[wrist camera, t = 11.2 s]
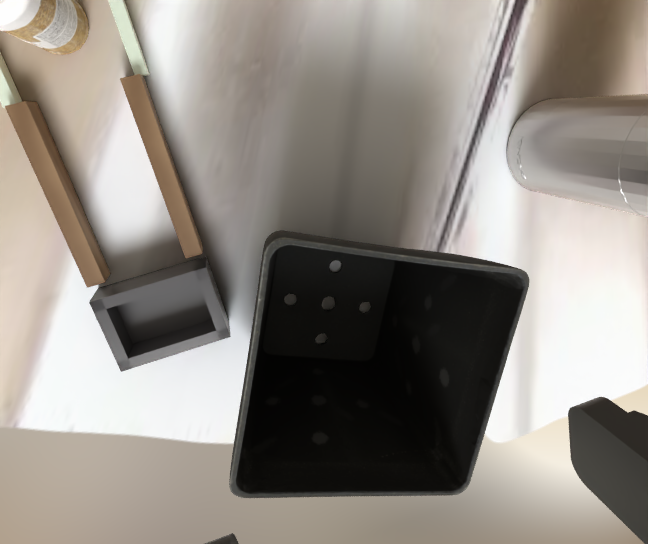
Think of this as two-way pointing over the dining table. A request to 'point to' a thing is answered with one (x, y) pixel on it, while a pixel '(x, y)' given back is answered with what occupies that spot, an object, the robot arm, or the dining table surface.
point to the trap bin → (161, 313)
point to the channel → (63, 193)
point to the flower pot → (371, 369)
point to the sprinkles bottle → (46, 23)
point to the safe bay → (6, 91)
